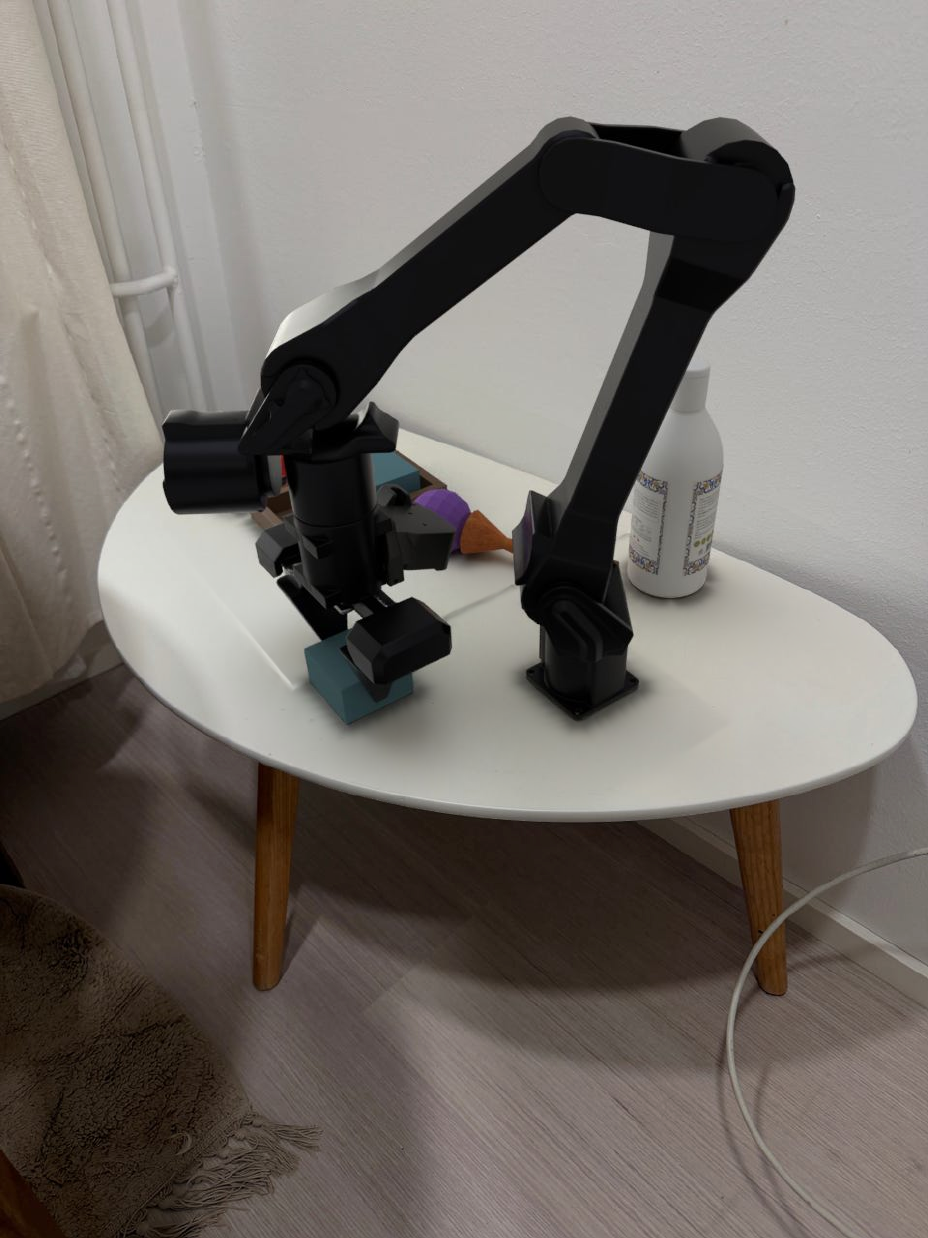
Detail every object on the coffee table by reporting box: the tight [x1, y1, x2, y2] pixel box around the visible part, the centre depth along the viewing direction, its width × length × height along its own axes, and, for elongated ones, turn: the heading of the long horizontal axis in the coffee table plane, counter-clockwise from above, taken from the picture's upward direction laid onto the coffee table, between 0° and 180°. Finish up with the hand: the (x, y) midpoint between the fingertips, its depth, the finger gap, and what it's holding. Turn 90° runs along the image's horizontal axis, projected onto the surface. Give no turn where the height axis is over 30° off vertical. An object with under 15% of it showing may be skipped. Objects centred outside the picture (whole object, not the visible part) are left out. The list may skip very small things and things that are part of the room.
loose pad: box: [303, 627, 415, 725], centre depth 71 cm, size 6×6×4 cm
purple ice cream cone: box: [414, 489, 620, 565], centre depth 83 cm, size 6×6×20 cm
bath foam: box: [626, 355, 725, 599], centre depth 76 cm, size 7×7×20 cm
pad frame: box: [250, 449, 448, 531], centre depth 92 cm, size 10×17×3 cm, turn 125°
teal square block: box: [372, 452, 420, 494], centre depth 93 cm, size 6×6×4 cm
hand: (360, 677), depth 72 cm, fingers closed on loose pad, 6 cm apart
